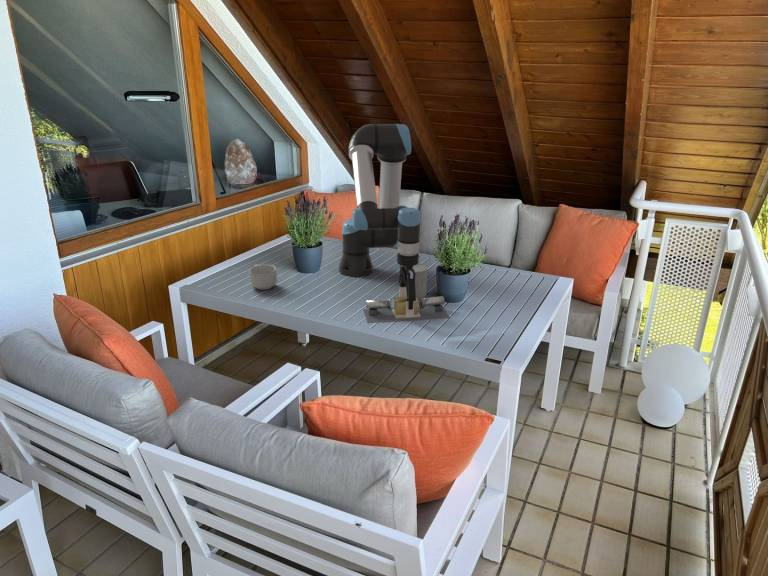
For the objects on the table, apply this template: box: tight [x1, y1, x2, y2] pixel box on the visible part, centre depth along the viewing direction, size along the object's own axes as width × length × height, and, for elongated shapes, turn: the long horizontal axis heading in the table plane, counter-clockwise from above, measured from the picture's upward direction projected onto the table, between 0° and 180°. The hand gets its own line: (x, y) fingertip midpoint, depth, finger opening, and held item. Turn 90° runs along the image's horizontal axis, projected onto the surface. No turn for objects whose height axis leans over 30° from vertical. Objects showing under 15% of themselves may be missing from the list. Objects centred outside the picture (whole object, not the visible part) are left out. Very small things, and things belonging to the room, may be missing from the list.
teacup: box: [248, 264, 278, 291], centre depth 235 cm, size 14×11×8 cm
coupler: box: [393, 296, 419, 316], centre depth 209 cm, size 8×5×5 cm, turn 97°
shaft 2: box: [417, 295, 445, 312], centre depth 212 cm, size 9×4×6 cm, turn 110°
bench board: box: [363, 305, 451, 324], centre depth 210 cm, size 12×30×1 cm, turn 100°
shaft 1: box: [365, 298, 392, 316], centre depth 209 cm, size 9×4×6 cm, turn 90°
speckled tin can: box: [405, 263, 428, 300], centre depth 226 cm, size 10×10×12 cm
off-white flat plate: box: [392, 309, 420, 318], centre depth 210 cm, size 7×9×1 cm
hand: (406, 310), depth 209 cm, fingers open, 11 cm apart
